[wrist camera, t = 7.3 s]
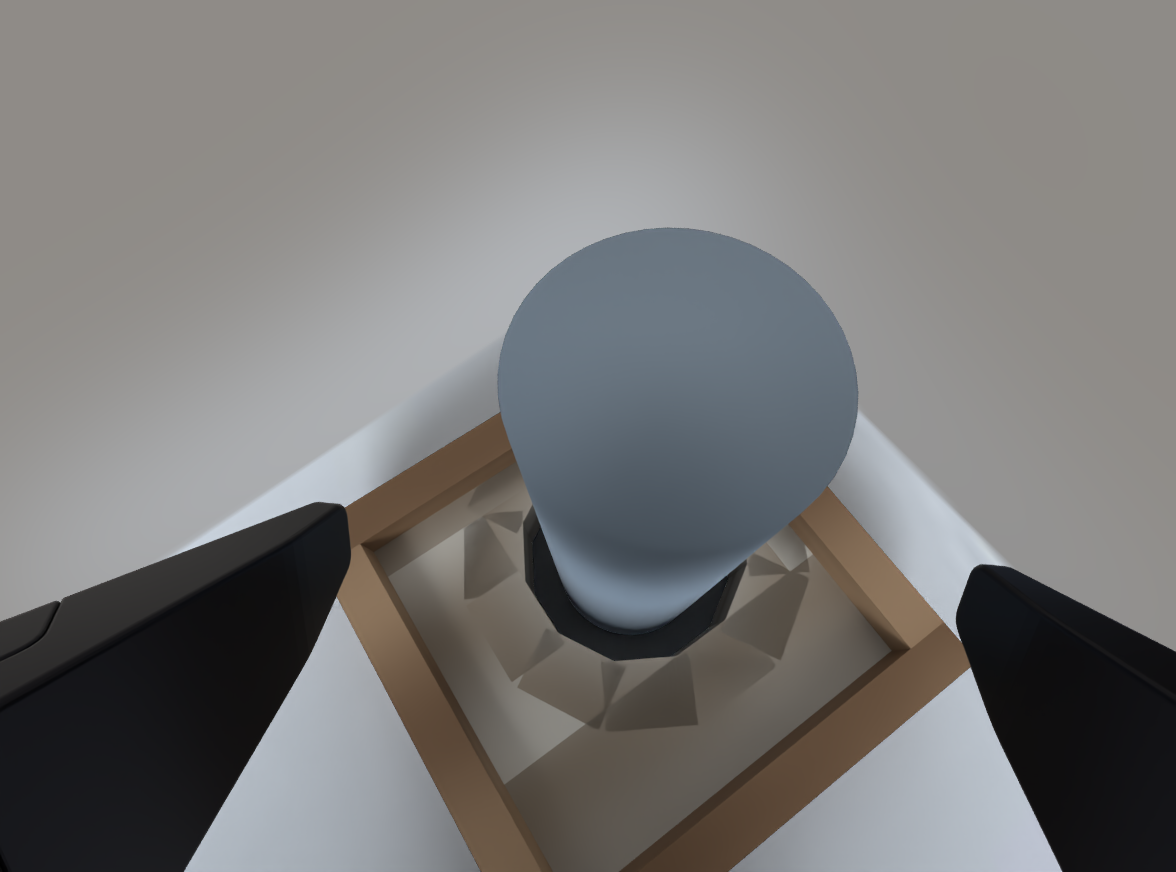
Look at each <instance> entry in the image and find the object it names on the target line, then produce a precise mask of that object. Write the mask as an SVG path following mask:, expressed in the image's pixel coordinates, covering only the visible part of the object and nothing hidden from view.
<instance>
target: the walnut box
mask: <svg viewBox="0 0 1176 872" xmlns="http://www.w3.org/2000/svg"><path fill="white" fill-rule="evenodd" d="M345 509H346V512H347V516H348V525H349V535H350V544H351V562H350V566H349V569H348V571H347V574H346V576H345V578H344V580H343V583H342V585H341V587H340V589H339V592H338V594H337V598H338V600H339V602H340V604H341V606H342V608H343V610H344V611H345V613H346V615H347V617H348V619H349V621H350V623H351V625H352V627H353V629H354V631H355V632H356V634H357V636H358V638H359V640H360V642H361V644H362V646H363V648H364V650H365V651H366V653H367V655H368V657H369V659H370V661H371V663H372V665H373V667H374V669H375V671H376V672H377V674H378V676H379V678H380V680H381V682H382V684H383V686H384V688H385V690H386V692H387V693H388V695H389V697H390V699H391V701H392V703H393V705H394V707H395V709H396V711H397V712H398V714H399V716H400V718H401V720H402V722H403V724H404V726H405V728H406V730H407V732H408V733H409V735H410V737H411V739H412V741H413V743H414V745H415V747H416V749H417V751H418V753H419V754H420V756H421V758H422V760H423V762H424V764H425V766H426V768H427V770H428V772H429V773H430V775H431V777H432V779H433V781H434V783H435V785H436V787H437V789H438V791H439V793H440V794H441V796H442V798H443V800H444V802H445V804H446V806H447V808H448V810H449V812H450V814H451V815H452V817H453V819H454V821H455V823H456V825H457V827H458V829H459V831H460V833H461V834H462V836H463V838H464V840H465V842H466V844H467V846H468V848H469V850H470V852H471V854H472V855H473V857H474V859H475V861H476V863H477V865H478V867H479V869H480V871H481V872H728V871H729V870H730V869H732V868H733V867H734V866H735V865H736V864H738V863H739V862H740V861H741V860H742V859H743V858H745V857H746V856H747V855H748V854H749V853H751V852H752V851H753V850H754V849H755V848H757V847H758V846H759V845H760V844H761V843H762V842H764V841H765V840H766V839H767V838H768V837H770V836H771V835H772V834H773V833H774V832H776V831H777V830H778V829H779V828H780V827H781V826H783V825H784V824H785V823H786V822H787V821H789V820H790V819H791V818H792V817H793V816H794V815H796V814H797V813H798V812H799V811H800V810H802V809H803V808H804V807H805V806H806V805H808V804H809V803H810V802H811V801H812V800H813V799H815V798H816V797H817V796H818V795H819V794H821V793H822V792H823V791H824V790H825V789H826V788H828V787H829V786H830V785H831V784H832V783H834V782H835V781H836V780H837V779H838V778H840V777H841V776H842V775H843V774H844V773H845V772H847V771H848V770H849V769H850V768H851V767H853V766H854V765H855V764H856V763H857V762H858V761H860V760H861V759H862V758H863V757H864V756H866V755H867V754H868V753H869V752H870V751H872V750H873V749H874V748H875V747H876V746H877V745H879V744H880V743H881V742H882V741H883V740H885V739H886V738H887V737H888V736H889V735H890V734H892V733H893V732H894V731H895V730H896V729H898V728H899V727H900V726H901V725H902V724H904V723H905V722H906V721H907V720H908V719H909V718H911V717H912V716H913V715H914V714H915V713H917V712H918V711H919V710H920V709H921V708H923V707H924V706H925V705H926V704H927V703H928V702H930V701H931V700H932V699H933V698H934V697H936V696H937V695H938V694H939V693H940V692H941V691H943V690H944V689H945V688H946V687H947V686H949V685H950V684H951V683H952V682H953V681H955V680H956V679H957V678H958V677H959V676H960V675H962V674H963V673H964V672H965V671H966V670H968V669H969V668H970V667H971V666H970V664H969V661H968V658H967V655H966V652H965V650H964V647H963V644H962V643H961V642H960V640H959V639H958V638H957V637H956V636H955V635H954V633H953V632H952V631H951V630H950V629H949V628H948V626H947V625H946V624H945V623H944V622H943V621H942V619H941V618H940V617H939V616H938V615H937V614H936V612H935V611H934V610H933V609H932V608H931V607H930V605H929V604H928V603H927V602H926V601H925V600H924V598H923V597H922V596H921V595H920V594H919V593H918V591H917V590H916V589H915V588H914V587H913V586H912V584H911V583H910V582H909V581H908V580H907V579H906V577H905V576H904V575H903V574H902V573H901V572H900V570H899V569H898V568H897V567H896V566H895V565H894V563H893V562H892V561H891V560H890V559H889V558H888V556H887V555H886V554H885V553H884V552H883V551H882V549H881V548H880V547H879V546H878V545H877V544H876V542H875V541H874V540H873V539H872V538H871V537H870V535H869V534H868V533H867V532H866V531H865V530H864V528H863V527H862V526H861V525H860V524H859V523H858V521H857V520H856V519H855V518H854V517H853V516H852V514H851V513H850V512H849V511H848V510H847V509H846V507H845V506H844V505H843V504H842V503H841V502H840V500H839V499H838V498H837V497H836V496H835V495H834V493H833V492H832V491H831V490H830V489H829V488H828V486H827V487H826V488H825V489H824V491H823V492H822V493H821V495H820V496H819V497H818V498H817V499H816V500H815V501H813V502H812V503H811V504H810V505H809V506H808V507H807V508H806V509H805V510H804V511H803V512H802V513H801V514H799V515H798V516H797V517H796V518H795V519H794V520H792V521H791V522H790V523H789V524H788V525H786V526H785V527H784V528H783V529H782V530H780V531H779V532H778V533H777V534H776V535H774V536H773V537H772V538H771V539H770V540H768V541H767V542H766V543H765V544H764V545H762V546H761V547H760V548H759V549H758V550H756V551H755V552H754V553H753V554H752V555H750V556H749V557H748V558H747V559H746V560H744V561H743V562H742V563H741V564H740V565H738V566H737V567H736V568H735V569H734V570H732V571H731V572H730V573H729V574H728V581H727V583H726V586H725V588H724V591H723V593H722V596H721V598H720V601H719V603H718V606H717V608H716V611H715V613H714V616H713V618H712V621H711V623H710V626H709V628H708V629H707V630H705V631H704V632H703V633H701V634H700V635H698V636H697V637H696V638H694V639H693V640H692V641H690V642H689V643H688V644H686V645H685V646H684V647H682V648H681V649H680V650H678V651H677V652H676V653H674V654H673V655H672V656H670V657H659V658H647V659H635V660H622V661H613V660H611V659H609V658H607V657H605V656H603V655H601V654H599V653H597V652H595V651H593V650H591V649H589V648H587V647H585V646H583V645H581V644H579V643H577V642H575V641H573V640H571V639H569V638H567V637H565V636H563V635H561V634H560V633H559V632H558V630H557V629H556V627H555V625H554V624H553V622H552V621H551V619H550V618H549V616H548V614H547V613H546V611H545V610H544V608H543V607H542V605H541V603H540V602H539V600H538V599H537V597H536V596H535V590H534V568H533V545H532V543H533V541H534V539H535V537H536V535H537V533H538V531H539V529H540V527H541V525H540V523H539V520H538V517H537V515H536V512H535V509H534V507H533V504H532V501H531V498H530V496H529V493H528V490H527V488H526V485H525V482H524V480H523V477H522V474H521V472H520V469H519V466H518V464H517V461H516V458H515V456H514V453H513V450H512V447H511V445H510V442H509V439H508V436H507V433H506V430H505V427H504V424H503V421H502V417H501V412H500V413H498V414H497V415H495V416H493V417H492V418H490V419H489V420H487V421H485V422H484V423H482V424H480V425H479V426H477V427H475V428H474V429H472V430H471V431H469V432H467V433H466V434H464V435H462V436H461V437H459V438H458V439H456V440H454V441H453V442H451V443H449V444H448V445H446V446H445V447H443V448H441V449H440V450H438V451H436V452H435V453H433V454H432V455H430V456H428V457H427V458H425V459H423V460H422V461H420V462H418V463H417V464H415V465H414V466H412V467H410V468H409V469H407V470H405V471H404V472H402V473H401V474H399V475H397V476H396V477H394V478H392V479H391V480H389V481H388V482H386V483H384V484H383V485H381V486H379V487H378V488H376V489H375V490H373V491H371V492H370V493H368V494H366V495H365V496H363V497H361V498H360V499H358V500H357V501H355V502H353V503H352V504H350V505H348V506H347V507H345Z"/></svg>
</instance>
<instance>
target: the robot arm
mask: <svg viewBox="0 0 1176 872" xmlns="http://www.w3.org/2000/svg"><path fill="white" fill-rule="evenodd" d="M350 562H351V544H350V535H349V525H348V516H347V512H346V509H345V508H344V507H343V506H342V505H341V504H334V503H324V502H315V503H311V504H309V505H306V506H304V507H301V508H298V509H296V510H293V511H290V512H288V513H285V514H283V515H280V516H277V517H275V518H272V519H269V520H267V521H264V522H262V523H259V524H256V525H254V526H251V527H248V528H246V529H243V530H241V531H238V532H235V533H233V534H230V535H227V536H225V537H222V538H220V539H217V540H214V541H212V542H209V543H206V544H204V545H201V546H199V547H196V548H193V549H191V550H188V551H185V552H183V553H180V554H178V555H175V556H172V557H170V558H167V559H164V560H162V561H159V562H157V563H154V564H151V565H149V566H146V567H143V568H141V569H138V570H136V571H133V572H131V573H128V574H125V575H123V576H120V577H117V578H115V579H112V580H110V581H107V582H104V583H101V584H99V585H97V586H94V587H91V588H88V589H86V590H83V591H80V592H78V593H75V594H73V595H70V596H67V597H65V598H63V599H62V601H61V603H60V602H59V601H54V602H51V603H49V604H46V605H44V606H41V607H38V608H35V609H33V610H31V611H28V612H25V613H22V614H20V615H17V616H14V617H12V618H9V619H6V620H3V621H1V622H0V872H184V870H185V869H186V867H187V865H188V864H189V862H190V860H191V858H192V857H193V855H194V853H195V852H196V850H197V848H198V846H199V845H200V843H201V841H202V840H203V838H204V836H205V835H206V833H207V831H208V829H209V828H210V826H211V824H212V823H213V821H214V819H215V817H216V816H217V814H218V812H219V811H220V809H221V807H222V805H223V804H224V802H225V800H226V799H227V797H228V795H229V794H230V792H231V790H232V788H233V787H234V785H235V783H236V782H237V780H238V778H239V776H240V775H241V773H242V771H243V770H244V768H245V766H246V764H247V763H248V761H249V759H250V758H251V756H252V754H253V753H254V751H255V749H256V747H257V746H258V744H259V742H260V741H261V739H262V737H263V735H264V734H265V732H266V730H267V729H268V727H269V725H270V723H271V722H272V720H273V718H274V717H275V715H276V713H277V711H278V710H279V708H280V706H281V705H282V703H283V701H284V700H285V698H286V696H287V694H288V693H289V691H290V689H291V688H292V686H293V684H294V682H295V681H296V679H297V677H298V676H299V674H300V672H301V670H302V669H303V667H304V665H305V663H306V661H307V660H308V658H309V656H310V654H311V652H312V650H313V648H314V646H315V643H316V641H317V639H318V637H319V635H320V632H321V630H322V628H323V626H324V623H325V621H326V619H327V617H328V614H329V612H330V610H331V608H332V605H333V603H334V601H335V598H336V596H337V594H338V592H339V589H340V587H341V585H342V583H343V580H344V578H345V576H346V574H347V571H348V569H349V566H350ZM956 626H957V630H958V633H959V636H960V639H961V641H962V644H963V647H964V650H965V652H966V655H967V658H968V661H969V664H970V666H971V669H972V672H973V675H974V677H975V680H976V683H977V686H978V689H979V691H980V694H981V697H982V700H983V702H984V705H985V708H986V711H987V713H988V716H989V718H990V721H991V723H992V726H993V728H994V731H995V733H996V735H997V737H998V739H999V742H1000V744H1001V746H1002V748H1003V750H1004V752H1005V754H1006V756H1007V758H1008V761H1009V763H1010V765H1011V767H1012V769H1013V771H1014V773H1015V775H1016V777H1017V779H1018V781H1019V783H1020V785H1021V787H1022V789H1023V791H1024V794H1025V796H1026V798H1027V800H1028V802H1029V804H1030V806H1031V808H1032V810H1033V812H1034V814H1035V816H1036V818H1037V820H1038V822H1039V825H1040V827H1041V829H1042V831H1043V833H1044V835H1045V837H1046V839H1047V841H1048V843H1049V845H1050V847H1051V849H1052V851H1053V853H1054V855H1055V858H1056V860H1057V862H1058V864H1059V866H1060V868H1061V870H1062V872H1176V652H1175V651H1173V650H1172V649H1169V648H1167V647H1166V646H1164V645H1162V644H1159V643H1158V642H1156V641H1154V640H1152V639H1150V638H1148V637H1146V636H1144V635H1142V634H1140V633H1138V632H1136V631H1134V630H1132V629H1130V628H1128V627H1126V626H1124V625H1122V624H1120V623H1119V622H1117V621H1115V620H1113V619H1111V618H1109V617H1107V616H1105V615H1103V614H1101V613H1099V612H1097V611H1095V610H1093V609H1091V608H1089V607H1087V606H1085V605H1083V604H1081V603H1079V602H1077V601H1075V600H1073V599H1071V598H1070V597H1068V596H1066V595H1064V594H1061V593H1060V592H1058V591H1056V590H1054V589H1052V588H1050V587H1048V586H1046V585H1044V584H1042V583H1040V582H1038V581H1036V580H1034V579H1032V578H1030V577H1028V576H1026V575H1024V574H1022V573H1021V572H1019V571H1017V570H1015V569H1013V568H1010V567H1006V566H996V565H986V564H981V565H978V566H976V567H974V569H973V570H972V571H971V573H970V575H969V578H968V581H967V584H966V587H965V589H964V592H963V595H962V598H961V601H960V603H959V606H958V609H957V613H956Z"/></svg>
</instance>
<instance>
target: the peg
mask: <svg viewBox="0 0 1176 872" xmlns="http://www.w3.org/2000/svg"><path fill="white" fill-rule="evenodd" d="M498 399H499V405H500V411H501V417H502V421H503V424H504V427H505V430H506V433H507V436H508V439H509V442H510V445H511V447H512V450H513V453H514V456H515V458H516V461H517V464H518V466H519V469H520V472H521V474H522V477H523V480H524V482H525V485H526V488H527V490H528V493H529V496H530V498H531V501H532V504H533V507H534V509H535V512H536V515H537V517H538V520H539V523H540V525H541V528H542V531H543V533H544V536H545V539H546V541H547V544H548V547H549V549H550V552H551V555H552V558H553V560H554V563H555V566H556V568H557V571H558V574H559V576H560V579H561V582H562V584H563V587H564V590H565V592H566V594H567V596H568V598H569V600H570V601H571V603H572V604H573V606H574V607H575V608H576V609H577V611H578V612H579V613H580V614H581V615H582V616H583V617H584V618H586V619H587V620H588V621H590V622H591V623H592V624H594V625H596V626H598V627H600V628H602V629H604V630H607V631H610V632H613V633H618V634H625V635H636V634H644V633H648V632H652V631H654V630H657V629H659V628H661V627H663V626H665V625H667V624H668V623H670V622H671V621H672V620H674V619H675V618H676V617H677V616H679V615H680V614H681V613H682V612H683V611H685V610H686V609H687V608H688V607H689V606H691V605H692V604H693V603H694V602H695V601H697V600H698V599H699V598H700V597H701V596H703V595H704V594H705V593H706V592H707V591H709V590H710V589H711V588H712V587H713V586H715V585H716V584H717V583H718V582H719V581H721V580H722V579H723V578H724V577H725V576H727V575H728V574H729V573H730V572H731V571H732V570H734V569H735V568H736V567H737V566H738V565H740V564H741V563H742V562H743V561H744V560H746V559H747V558H748V557H749V556H750V555H752V554H753V553H754V552H755V551H756V550H758V549H759V548H760V547H761V546H762V545H764V544H765V543H766V542H767V541H768V540H770V539H771V538H772V537H773V536H774V535H776V534H777V533H778V532H779V531H780V530H782V529H783V528H784V527H785V526H786V525H788V524H789V523H790V522H791V521H792V520H794V519H795V518H796V517H797V516H798V515H799V514H801V513H802V512H803V511H804V510H805V509H806V508H807V507H808V506H809V505H810V504H811V503H812V502H813V501H815V500H816V499H817V498H818V497H819V496H820V495H821V493H822V492H823V491H824V489H825V488H826V487H827V486H828V484H829V483H830V482H831V480H832V479H833V478H834V476H835V475H836V473H837V471H838V469H839V467H840V466H841V464H842V462H843V460H844V458H845V456H846V454H847V451H848V448H849V445H850V443H851V440H852V437H853V433H854V428H855V423H856V418H857V409H858V385H857V376H856V369H855V365H854V361H853V357H852V353H851V350H850V347H849V345H848V342H847V340H846V337H845V335H844V332H843V330H842V328H841V327H840V325H839V323H838V321H837V320H836V318H835V316H834V314H833V313H832V311H831V310H830V308H829V307H828V306H827V304H826V303H825V302H824V301H823V299H822V298H821V296H820V295H819V294H818V293H817V292H816V291H815V290H814V289H813V288H812V287H811V286H810V285H809V283H808V282H807V281H806V280H805V279H803V278H802V277H801V276H800V275H799V274H797V273H796V272H795V271H794V270H793V269H791V268H790V267H789V266H787V265H786V264H784V263H783V262H781V261H780V260H778V259H777V258H775V257H773V256H772V255H771V254H769V253H767V252H765V251H763V250H761V249H759V248H757V247H755V246H753V245H751V244H748V243H745V242H743V241H740V240H737V239H735V238H732V237H729V236H725V235H721V234H717V233H713V232H709V231H702V230H695V229H684V228H656V229H644V230H639V231H633V232H628V233H624V234H620V235H616V236H613V237H610V238H606V239H604V240H602V241H599V242H597V243H594V244H592V245H589V246H587V247H585V248H583V249H582V250H580V251H578V252H576V253H574V254H573V255H571V256H569V257H568V258H566V259H565V260H564V261H562V262H561V263H560V264H558V265H557V266H556V267H554V268H553V269H551V270H550V271H549V273H547V274H546V275H545V276H544V277H543V278H542V279H541V280H540V281H539V282H538V283H537V284H536V285H535V286H534V288H533V289H532V290H531V291H530V293H529V294H528V295H527V296H526V298H525V299H524V301H523V302H522V304H521V305H520V307H519V309H518V310H517V312H516V314H515V315H514V317H513V319H512V322H511V324H510V326H509V329H508V331H507V333H506V336H505V339H504V343H503V347H502V350H501V354H500V361H499V369H498Z"/></svg>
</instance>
